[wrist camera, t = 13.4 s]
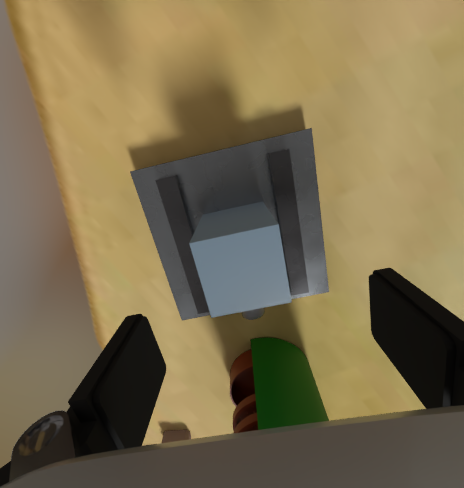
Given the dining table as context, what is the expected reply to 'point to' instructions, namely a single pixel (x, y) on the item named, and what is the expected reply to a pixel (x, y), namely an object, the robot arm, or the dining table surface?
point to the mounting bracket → (234, 195)
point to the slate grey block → (240, 261)
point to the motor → (273, 387)
